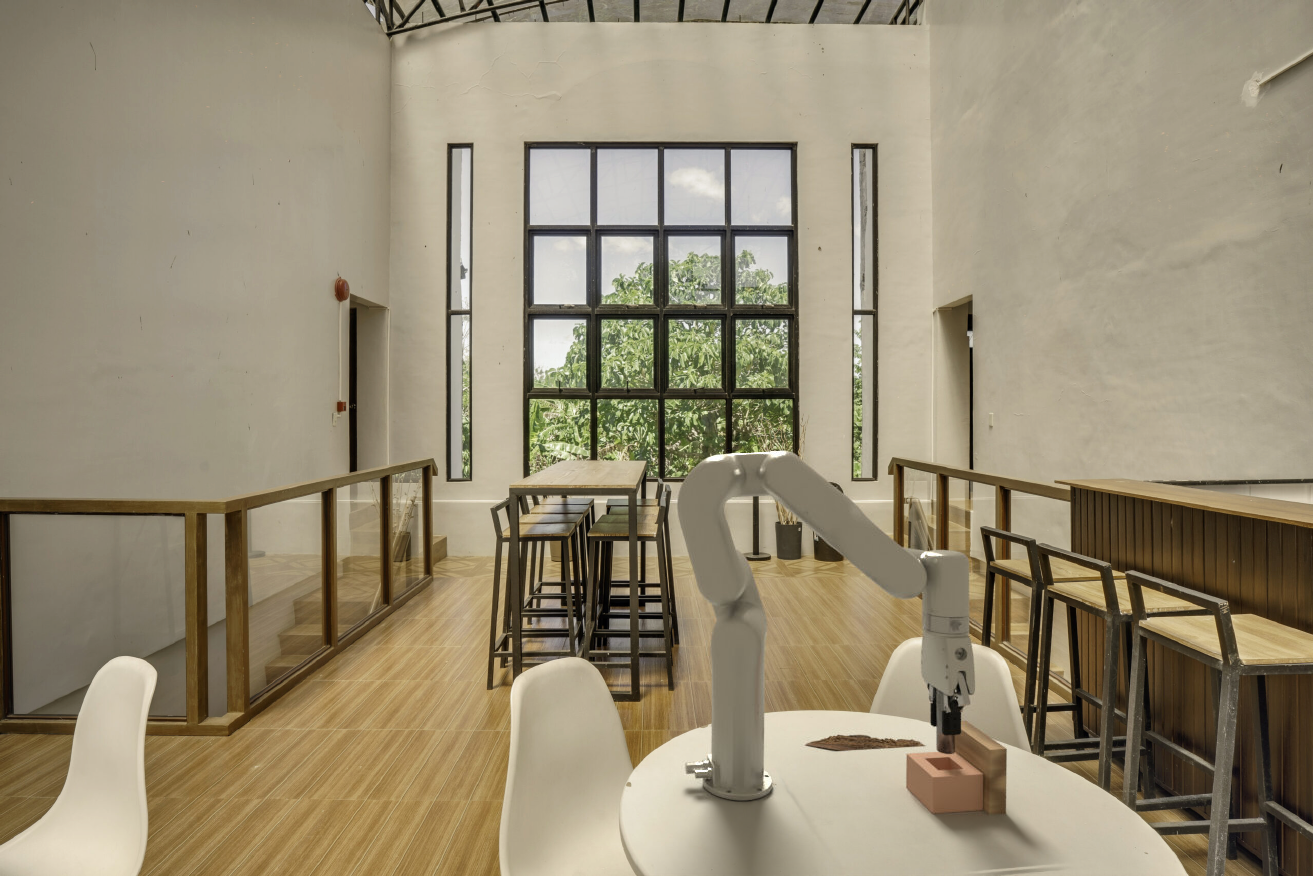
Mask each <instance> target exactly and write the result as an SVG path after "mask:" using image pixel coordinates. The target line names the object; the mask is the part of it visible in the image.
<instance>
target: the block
mask: <svg viewBox="0 0 1313 876" xmlns="http://www.w3.org/2000/svg"><path fill="white" fill-rule="evenodd" d="M905 774H906V775H905V779H906V780H905V786H906V787H905V788H906V789H907V790H908V791H909V792H910V794H912V795H913V796H914V797H915V798H916V799H918V801H919V802H921V804H923V806H924V807H925V808H927V810H928V811H929V812H931V814H944V813H945V814H946V813H960V812H972V811H973V812H974V811H984V810H983V773H981V772H980V771H979V770H977V769H976V768H975V767H974V766H972V765H971V764H970V763H968V762H967V761H966V760H965V759H963V758H962V757H961V756H960V755H958V754H957V753H956V752H955V753H954V754H944V753H940V752H938V751H932V752H931V751H929V752H913V753H912V752H911V753H906V772H905Z"/></svg>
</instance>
